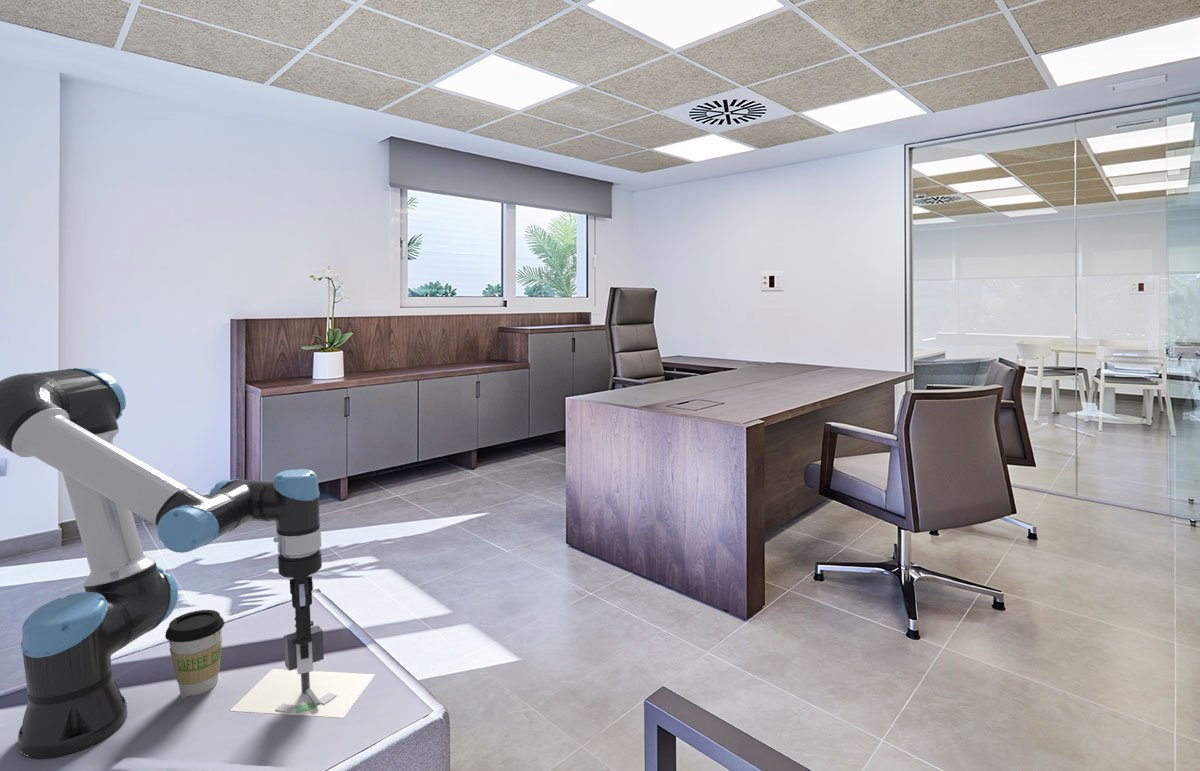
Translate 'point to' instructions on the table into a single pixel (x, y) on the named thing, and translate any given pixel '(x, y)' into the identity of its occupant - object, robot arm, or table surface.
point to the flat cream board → (286, 696)
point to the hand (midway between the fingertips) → (304, 666)
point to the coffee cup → (196, 650)
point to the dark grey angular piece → (316, 656)
